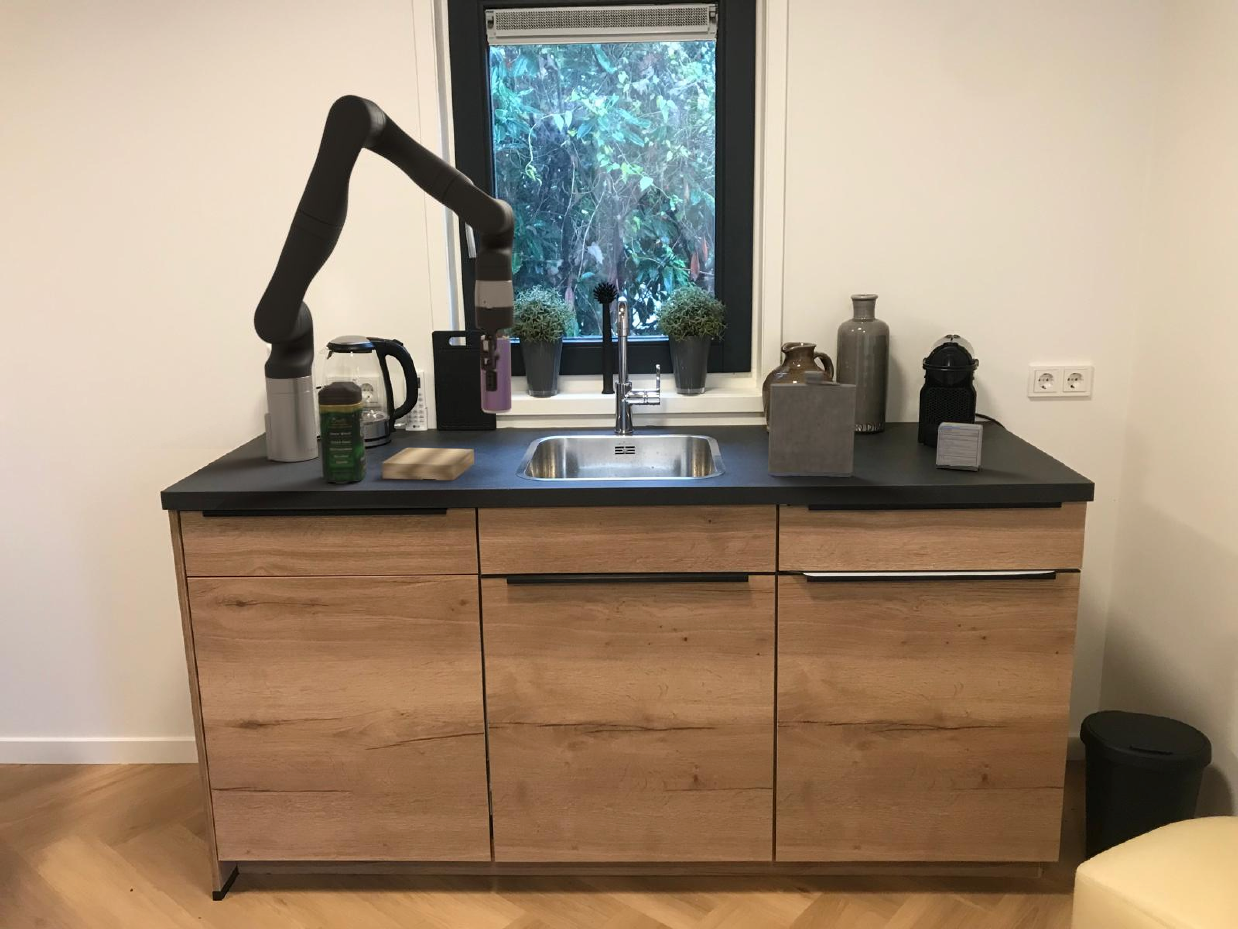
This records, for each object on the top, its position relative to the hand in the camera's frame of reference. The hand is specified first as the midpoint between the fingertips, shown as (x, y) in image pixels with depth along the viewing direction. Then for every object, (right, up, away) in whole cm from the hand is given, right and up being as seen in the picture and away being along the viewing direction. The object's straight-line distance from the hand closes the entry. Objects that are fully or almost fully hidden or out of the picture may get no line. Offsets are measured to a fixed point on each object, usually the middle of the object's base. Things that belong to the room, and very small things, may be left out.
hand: (496, 388), depth 203 cm
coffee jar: (-28, -18, -8) cm, 34 cm away
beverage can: (0, -5, +1) cm, 5 cm away
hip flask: (+61, -17, -7) cm, 64 cm away
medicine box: (+91, -16, -3) cm, 93 cm away
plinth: (-13, -16, -2) cm, 21 cm away
